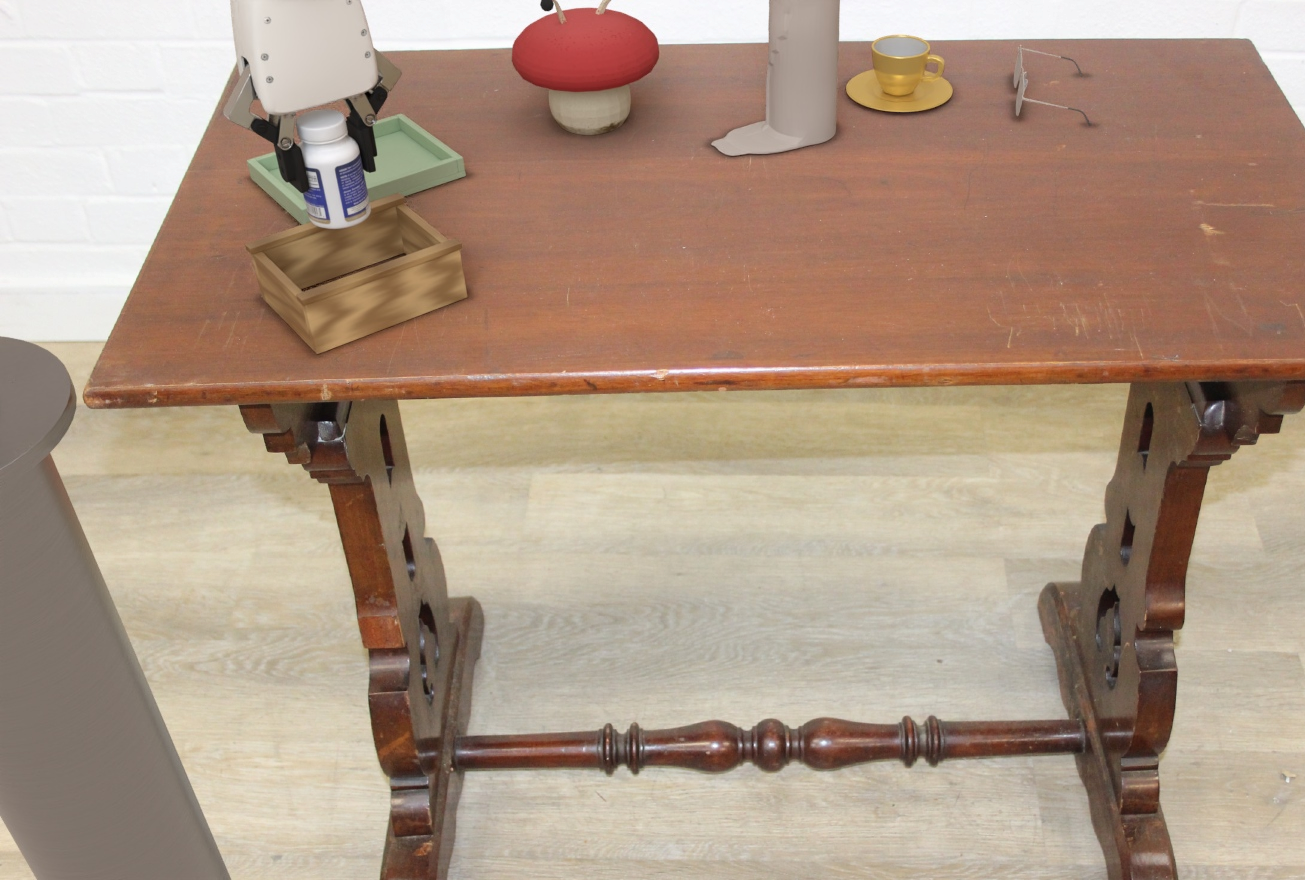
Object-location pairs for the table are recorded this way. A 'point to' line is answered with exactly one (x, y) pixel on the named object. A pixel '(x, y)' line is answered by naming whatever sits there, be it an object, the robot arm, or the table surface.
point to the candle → (795, 80)
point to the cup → (901, 77)
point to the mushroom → (586, 63)
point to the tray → (400, 166)
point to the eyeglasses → (1024, 82)
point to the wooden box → (358, 274)
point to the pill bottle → (332, 171)
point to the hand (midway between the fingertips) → (331, 174)
